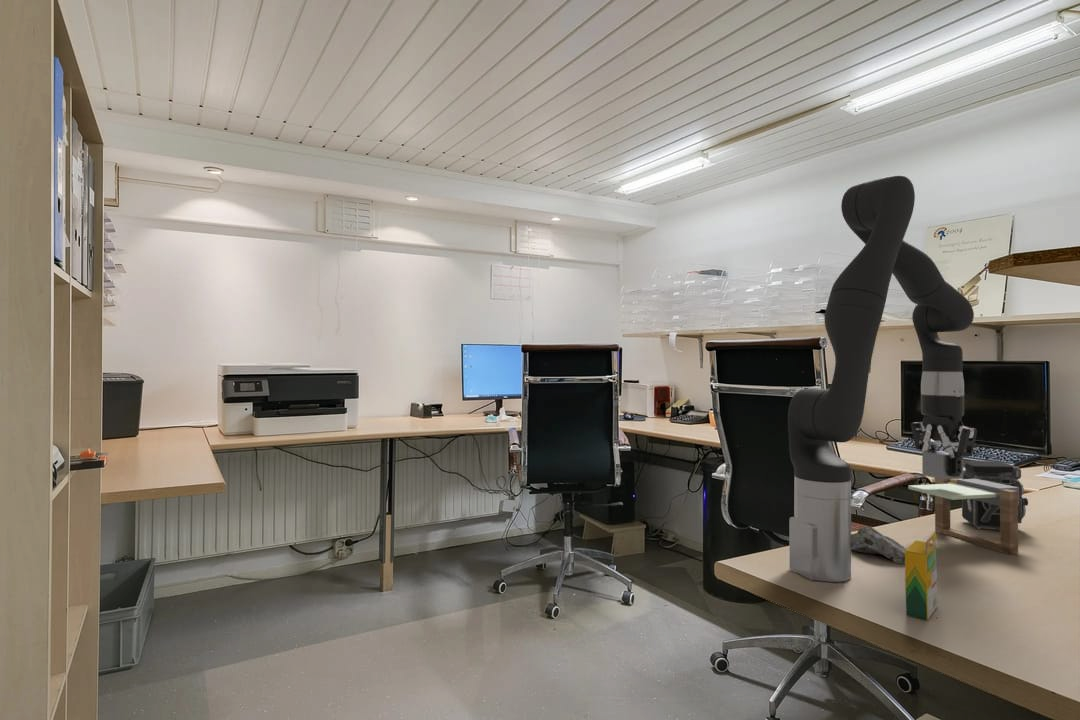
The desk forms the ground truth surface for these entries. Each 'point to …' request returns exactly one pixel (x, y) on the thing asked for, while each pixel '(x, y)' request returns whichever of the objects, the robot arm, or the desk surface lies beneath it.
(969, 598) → the desk surface
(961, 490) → the trapdoor
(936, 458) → the iron cube
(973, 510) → the camera
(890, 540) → the fossilized seashell
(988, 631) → the desk surface
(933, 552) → the crayon box
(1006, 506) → the frame
